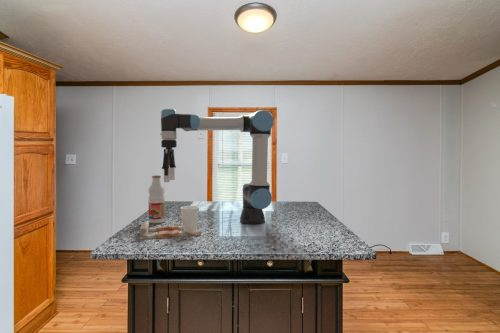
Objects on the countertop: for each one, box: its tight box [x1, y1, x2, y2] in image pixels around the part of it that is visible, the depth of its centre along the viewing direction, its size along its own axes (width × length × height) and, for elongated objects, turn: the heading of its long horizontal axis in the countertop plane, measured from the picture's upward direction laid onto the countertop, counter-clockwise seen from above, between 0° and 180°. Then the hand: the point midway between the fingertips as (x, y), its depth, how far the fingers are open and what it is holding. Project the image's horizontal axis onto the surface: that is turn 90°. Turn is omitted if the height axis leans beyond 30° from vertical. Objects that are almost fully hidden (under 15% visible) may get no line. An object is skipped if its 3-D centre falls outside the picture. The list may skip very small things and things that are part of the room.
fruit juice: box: [148, 175, 166, 224], centre depth 178 cm, size 9×9×28 cm
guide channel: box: [139, 221, 202, 240], centre depth 152 cm, size 29×15×5 cm, turn 105°
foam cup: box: [180, 205, 200, 232], centre depth 155 cm, size 10×9×13 cm
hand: (169, 181), depth 153 cm, fingers open, 13 cm apart
